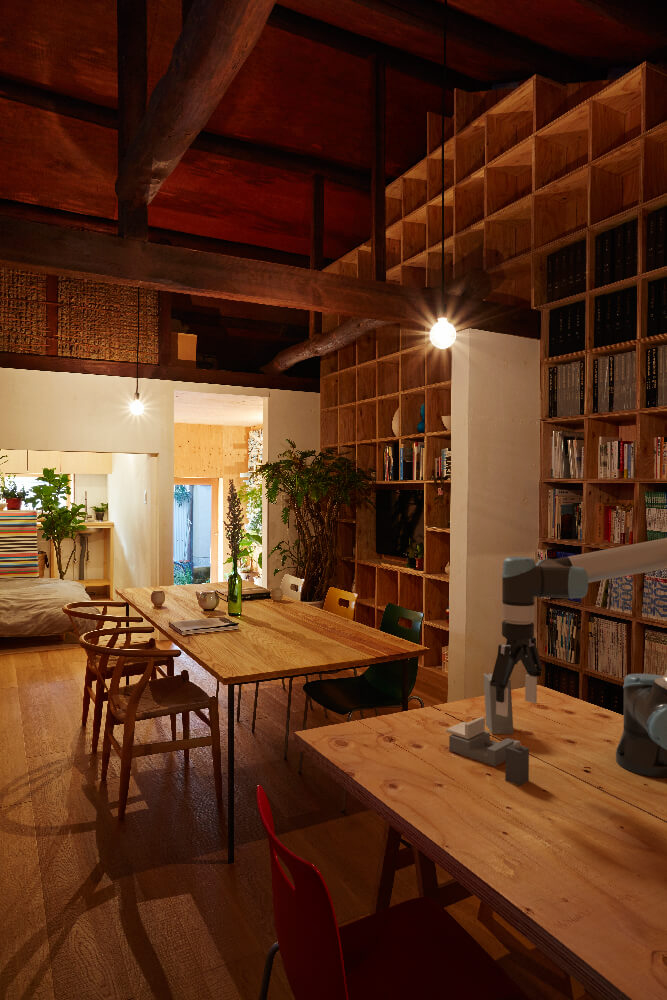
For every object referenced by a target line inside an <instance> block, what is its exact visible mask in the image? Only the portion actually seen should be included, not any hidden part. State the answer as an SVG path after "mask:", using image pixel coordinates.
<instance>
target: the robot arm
mask: <svg viewBox="0 0 667 1000" xmlns="http://www.w3.org/2000/svg"><path fill="white" fill-rule="evenodd" d="M502 563H503V564H502V575H501V582H502V583H501V588H502V589H501V590H502V594H501V597H502V598H501V600H502V605H501V608H502V609H501V611H502V613H501V618H502V622H501V635H502V637H503V638H505V640H506V642H505V644H500V643H499V644H498V648H497V657H496V659H495V662H494V668H493V672H492V673H493V675H492V678H491V682H490V685H491V686H494V687H496V714H498V715H502V716H505V717H507V716H508V688H506V686H507V684H508V681H509V679H510V678H511V676H512V673H513V670H514V668H515V665H518V664H519V662H520V661H521V663H522V665H523V666H524V669H525V671H526V673H527V674H525V675H524V676H525V682H524V683H525V686H524V687H525V690H524V697H525V698H524V701H525V702H529V703H531V704H537V702H538V701H537V698H538V697H537V696H538V694H537V691H538V689H537V687H538V685H537V684H538V677H541V676H542V671H543V667H542V663H541V660H540V655H539V651H538V647H537V638H536V637H535V624H534V622H533V621H535V598H553V599H554V598H556V599H557V598H558V599H570V600H572V599H584V598H586V595H587V594H588V592H589V583H594V582H600V581H606V580H611V579H617V578H622V577H627V576H633V575H638V574H643V573H650V572H655V571H661V570H665V569H666V570H667V537H664V538H659V539H655V540H654V539H653V540H649V541H643V542H639V543H638V542H637V543H633V544H628V545H622V546H618V547H612V548H611V547H610V548H608V549H601V550H597V551H591V552H586V553H582V554H580V553H579V554H576V555H575V554H574V555H569V556H566V557H560V558H554V559H553V558H544V559H541V560H539V561H537V562H536V560H535V559H534V558H533V557H531V556H530V557H528V556H508V557H506V558H505V559H504V560H503V562H502ZM623 680H624V681H623V682H624V683H623V686H622V688H623V731H622V734H621V736H620V740H619V742H618V745H617V747H616V750H615V761H616V763H617V764H618V765H619V766H620V767H621V768H623V769H625V770H627V771H629V772H632V773H634V774H638V775H642V776H647V777H651V778H652V777H653V778H667V669H666V670H665V672H664V674H663V675H662V674H661V675H660V674H653V673H629V674H627V675H625V677H624V679H623Z"/></svg>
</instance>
